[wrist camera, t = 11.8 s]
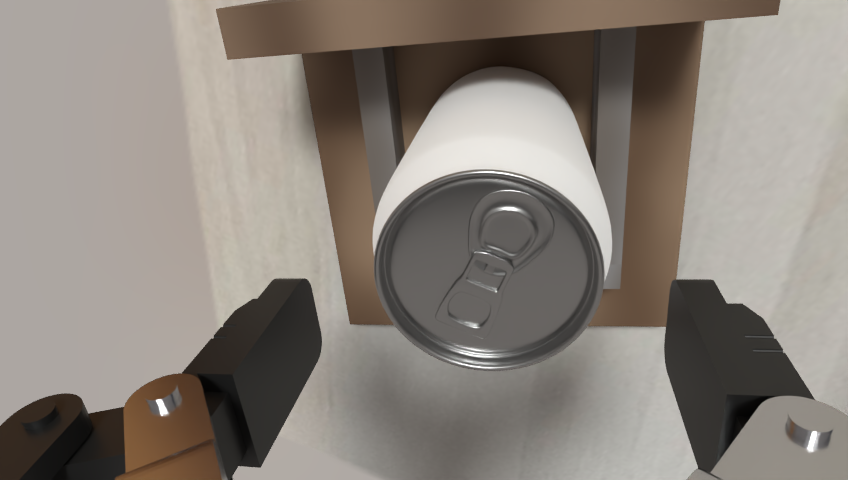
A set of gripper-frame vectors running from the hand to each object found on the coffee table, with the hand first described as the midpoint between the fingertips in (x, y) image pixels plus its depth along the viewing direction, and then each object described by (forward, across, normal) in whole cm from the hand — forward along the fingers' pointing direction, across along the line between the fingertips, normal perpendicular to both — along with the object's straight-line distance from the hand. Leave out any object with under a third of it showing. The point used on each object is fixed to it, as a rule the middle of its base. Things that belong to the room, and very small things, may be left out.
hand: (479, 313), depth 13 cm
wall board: (+15, 0, +1) cm, 15 cm away
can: (+14, 0, 0) cm, 14 cm away
